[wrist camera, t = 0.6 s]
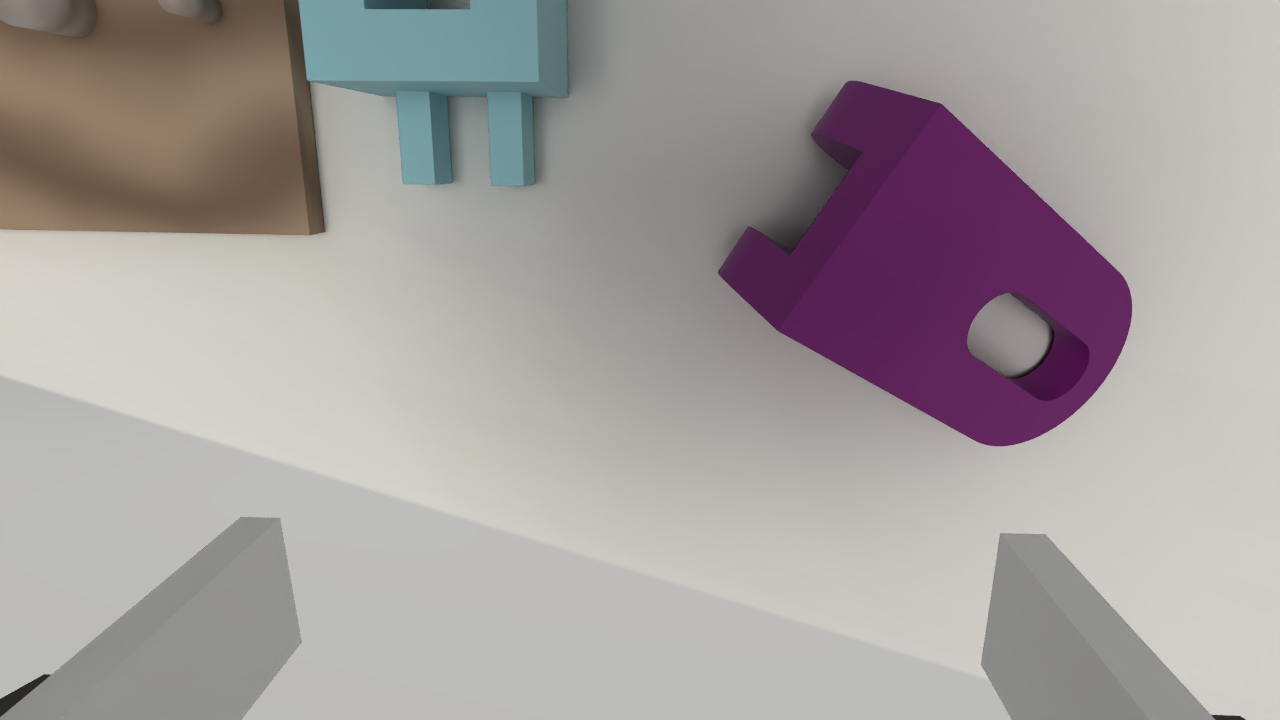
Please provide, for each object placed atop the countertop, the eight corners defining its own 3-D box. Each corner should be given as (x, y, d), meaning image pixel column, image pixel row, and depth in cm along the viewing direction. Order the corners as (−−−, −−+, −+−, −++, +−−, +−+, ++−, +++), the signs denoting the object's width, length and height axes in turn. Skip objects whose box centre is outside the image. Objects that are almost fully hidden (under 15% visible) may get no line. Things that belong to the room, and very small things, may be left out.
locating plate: (-160, -230, 32) (-293, -291, 28) (275, -238, 31) (207, -303, 27) (-49, 225, 37) (-146, 233, 33) (324, 231, 36) (275, 241, 32)
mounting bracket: (1026, 251, 40) (814, 67, 31) (1163, 315, 33) (942, 102, 24) (918, 385, 43) (692, 251, 34) (1025, 470, 36) (776, 330, 27)
